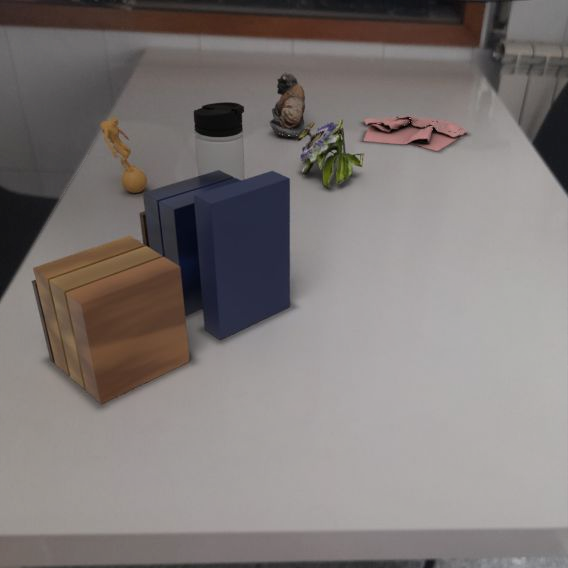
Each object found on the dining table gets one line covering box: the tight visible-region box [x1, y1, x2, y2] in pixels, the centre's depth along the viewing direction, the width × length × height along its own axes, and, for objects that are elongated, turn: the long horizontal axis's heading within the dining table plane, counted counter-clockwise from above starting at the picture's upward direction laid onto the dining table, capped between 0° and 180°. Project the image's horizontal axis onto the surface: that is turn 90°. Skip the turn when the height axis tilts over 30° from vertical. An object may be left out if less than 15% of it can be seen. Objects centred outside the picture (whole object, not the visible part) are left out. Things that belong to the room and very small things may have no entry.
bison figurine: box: [269, 71, 306, 138], centre depth 141 cm, size 12×7×10 cm, turn 5°
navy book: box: [194, 170, 291, 341], centre depth 83 cm, size 3×11×17 cm, turn 136°
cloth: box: [363, 115, 468, 152], centre depth 146 cm, size 20×22×2 cm
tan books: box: [31, 235, 190, 405], centre depth 76 cm, size 10×11×12 cm
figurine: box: [99, 116, 148, 194], centre depth 113 cm, size 8×6×12 cm
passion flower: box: [297, 118, 365, 190], centre depth 124 cm, size 11×11×12 cm
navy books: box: [138, 170, 241, 317], centre depth 89 cm, size 7×11×14 cm
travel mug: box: [193, 101, 246, 180], centre depth 97 cm, size 6×7×20 cm
